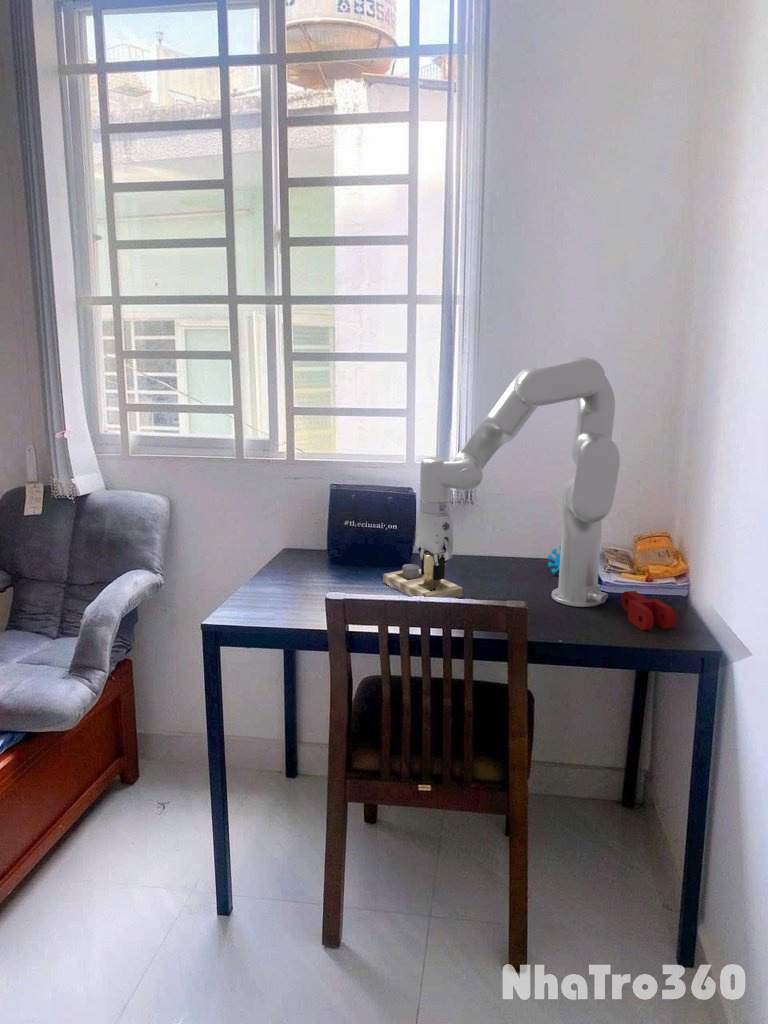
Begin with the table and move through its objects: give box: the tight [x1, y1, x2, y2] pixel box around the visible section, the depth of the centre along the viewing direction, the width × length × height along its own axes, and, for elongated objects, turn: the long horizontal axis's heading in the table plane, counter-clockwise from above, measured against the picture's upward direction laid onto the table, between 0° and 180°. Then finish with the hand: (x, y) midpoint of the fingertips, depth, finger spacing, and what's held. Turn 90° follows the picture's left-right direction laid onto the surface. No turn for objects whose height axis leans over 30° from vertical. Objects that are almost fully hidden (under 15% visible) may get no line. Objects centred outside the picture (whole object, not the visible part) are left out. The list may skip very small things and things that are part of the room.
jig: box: [382, 563, 463, 599], centre depth 192 cm, size 20×11×5 cm, turn 33°
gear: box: [547, 545, 561, 576], centre depth 206 cm, size 11×6×10 cm
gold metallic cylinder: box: [424, 552, 441, 587], centre depth 187 cm, size 4×4×8 cm
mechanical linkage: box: [620, 590, 677, 631], centre depth 173 cm, size 16×7×5 cm, turn 10°
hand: (432, 576), depth 187 cm, fingers closed on gold metallic cylinder, 4 cm apart
